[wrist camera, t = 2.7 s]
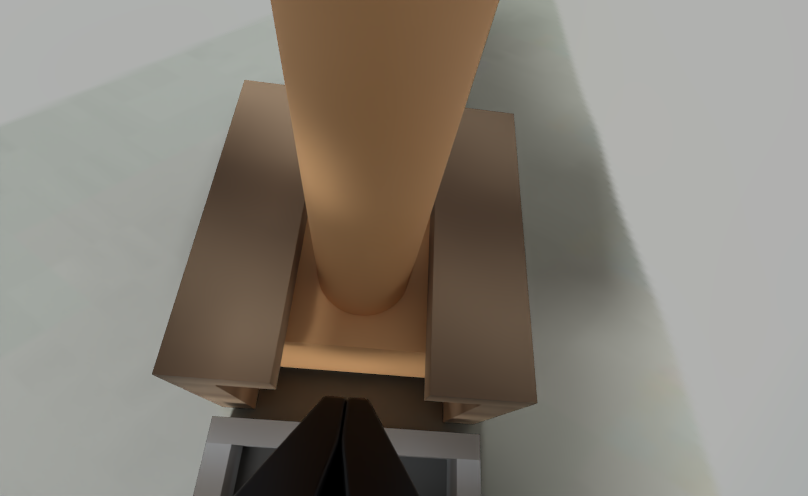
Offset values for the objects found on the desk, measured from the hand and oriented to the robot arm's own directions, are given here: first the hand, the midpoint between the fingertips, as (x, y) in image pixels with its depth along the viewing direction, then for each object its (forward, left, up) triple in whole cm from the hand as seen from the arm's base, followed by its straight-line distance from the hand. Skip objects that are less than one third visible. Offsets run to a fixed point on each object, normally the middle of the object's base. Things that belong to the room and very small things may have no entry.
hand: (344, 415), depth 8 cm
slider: (+4, +3, -9) cm, 10 cm away
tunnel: (+5, +4, -9) cm, 11 cm away
